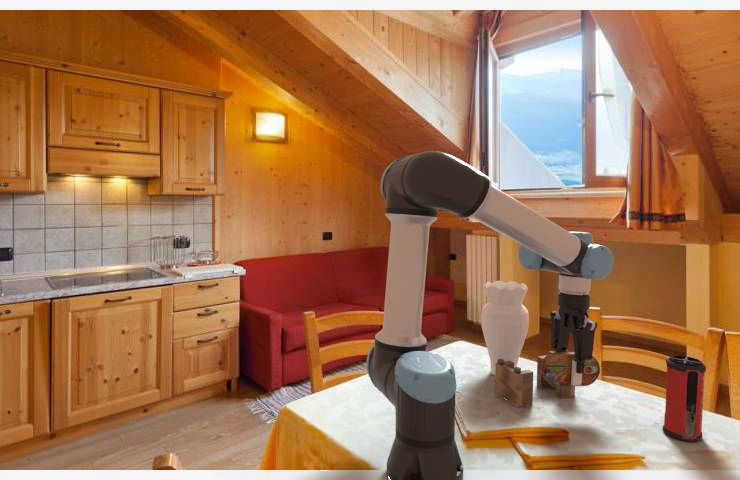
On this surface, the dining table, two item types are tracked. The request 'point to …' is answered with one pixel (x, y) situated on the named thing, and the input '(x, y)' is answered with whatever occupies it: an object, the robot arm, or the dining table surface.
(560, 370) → the tin
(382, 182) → the robot arm
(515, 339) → the vase
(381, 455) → the dining table surface
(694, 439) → the speaker
